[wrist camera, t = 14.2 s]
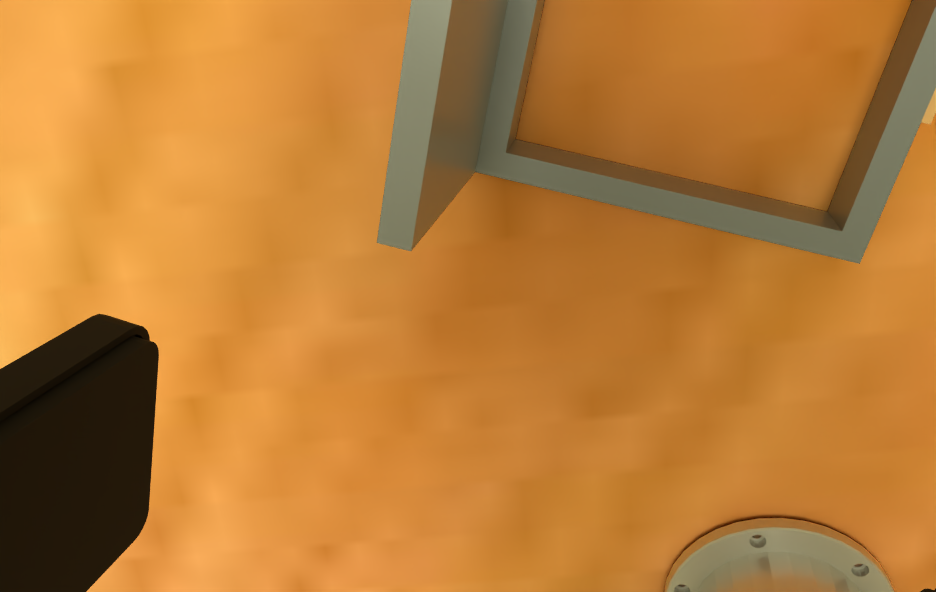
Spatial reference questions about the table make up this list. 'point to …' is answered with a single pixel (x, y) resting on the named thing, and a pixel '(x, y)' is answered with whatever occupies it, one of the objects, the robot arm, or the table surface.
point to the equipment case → (501, 155)
